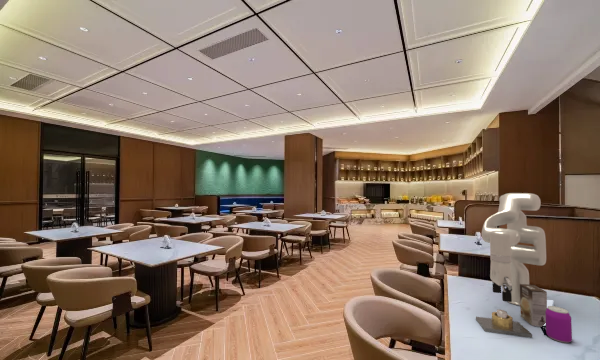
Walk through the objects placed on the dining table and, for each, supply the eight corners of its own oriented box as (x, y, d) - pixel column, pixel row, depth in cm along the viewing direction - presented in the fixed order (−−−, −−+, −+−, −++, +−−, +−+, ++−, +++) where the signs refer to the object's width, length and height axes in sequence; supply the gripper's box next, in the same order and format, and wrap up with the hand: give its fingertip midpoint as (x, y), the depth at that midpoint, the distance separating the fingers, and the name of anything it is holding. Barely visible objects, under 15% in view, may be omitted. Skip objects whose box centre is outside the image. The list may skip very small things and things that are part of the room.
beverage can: (567, 336, 110) (566, 307, 111) (575, 346, 103) (574, 315, 104) (543, 331, 114) (542, 303, 114) (549, 340, 107) (548, 310, 107)
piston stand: (518, 325, 119) (518, 308, 119) (532, 338, 108) (531, 319, 109) (475, 319, 124) (475, 303, 124) (485, 331, 113) (484, 313, 114)
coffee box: (519, 316, 128) (518, 283, 128) (534, 318, 126) (533, 284, 127) (532, 326, 119) (531, 290, 119) (548, 327, 117) (547, 291, 118)
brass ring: (507, 322, 119) (507, 313, 119) (515, 330, 112) (515, 320, 112) (489, 319, 121) (489, 311, 121) (496, 327, 114) (496, 318, 114)
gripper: (483, 253, 127) (484, 288, 127) (499, 263, 111) (500, 303, 110) (501, 254, 125) (502, 290, 124) (520, 264, 108) (522, 306, 108)
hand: (501, 296), depth 117 cm, fingers open, 9 cm apart
